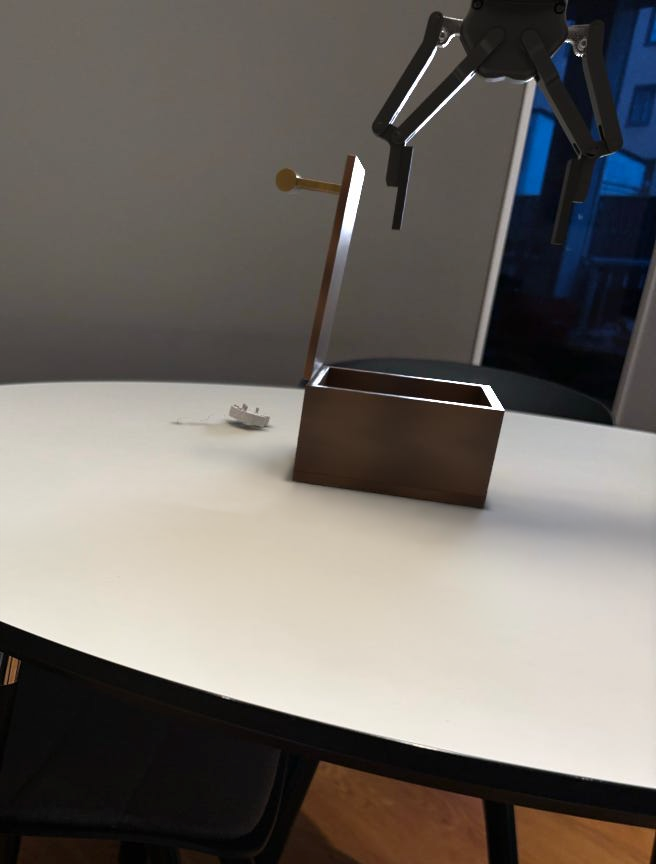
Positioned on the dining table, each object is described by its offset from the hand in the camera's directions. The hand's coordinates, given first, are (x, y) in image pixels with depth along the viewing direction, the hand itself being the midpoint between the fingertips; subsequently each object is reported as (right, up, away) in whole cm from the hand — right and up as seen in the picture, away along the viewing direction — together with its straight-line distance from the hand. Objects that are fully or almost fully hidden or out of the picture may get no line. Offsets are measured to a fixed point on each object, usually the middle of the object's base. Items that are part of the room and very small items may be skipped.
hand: (475, 237), depth 88 cm
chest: (-4, -18, +16) cm, 24 cm away
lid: (-10, +1, +10) cm, 14 cm away
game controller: (-20, -9, +34) cm, 41 cm away
